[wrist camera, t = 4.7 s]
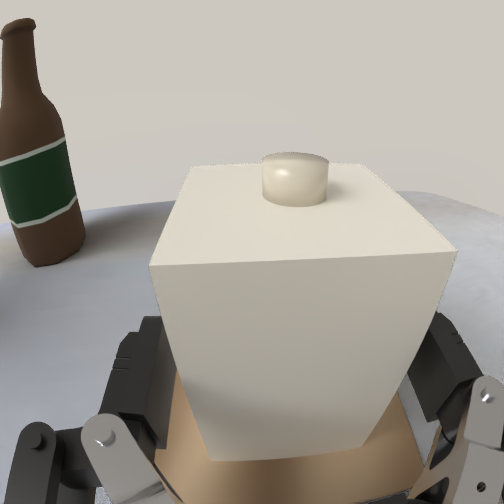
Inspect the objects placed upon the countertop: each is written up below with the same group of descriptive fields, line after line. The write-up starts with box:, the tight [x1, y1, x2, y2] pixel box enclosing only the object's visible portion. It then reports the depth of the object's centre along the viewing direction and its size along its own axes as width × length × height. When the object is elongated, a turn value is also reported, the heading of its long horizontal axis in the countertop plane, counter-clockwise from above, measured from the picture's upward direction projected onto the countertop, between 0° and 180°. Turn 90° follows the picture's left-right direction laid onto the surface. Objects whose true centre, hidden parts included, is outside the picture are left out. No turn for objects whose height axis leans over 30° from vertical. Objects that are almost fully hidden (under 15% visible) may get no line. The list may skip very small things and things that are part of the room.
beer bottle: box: [0, 18, 86, 267], centre depth 22 cm, size 8×8×24 cm
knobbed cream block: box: [149, 152, 458, 461], centre depth 11 cm, size 7×7×11 cm
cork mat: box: [154, 370, 424, 504], centre depth 14 cm, size 12×12×1 cm
